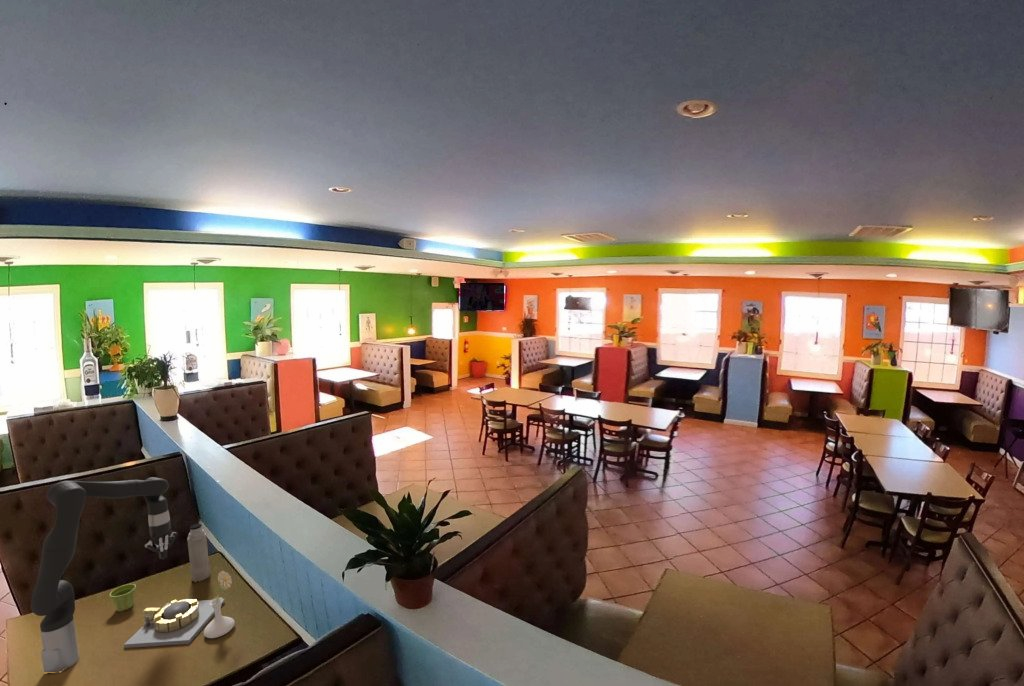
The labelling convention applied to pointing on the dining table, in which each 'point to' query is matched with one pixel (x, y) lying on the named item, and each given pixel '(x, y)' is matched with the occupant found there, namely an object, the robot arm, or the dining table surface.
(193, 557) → the thermos bottle
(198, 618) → the boss plate
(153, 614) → the segmented wooden ring
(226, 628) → the flower in vase
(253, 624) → the dining table surface
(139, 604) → the dining table surface
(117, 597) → the plant pot
